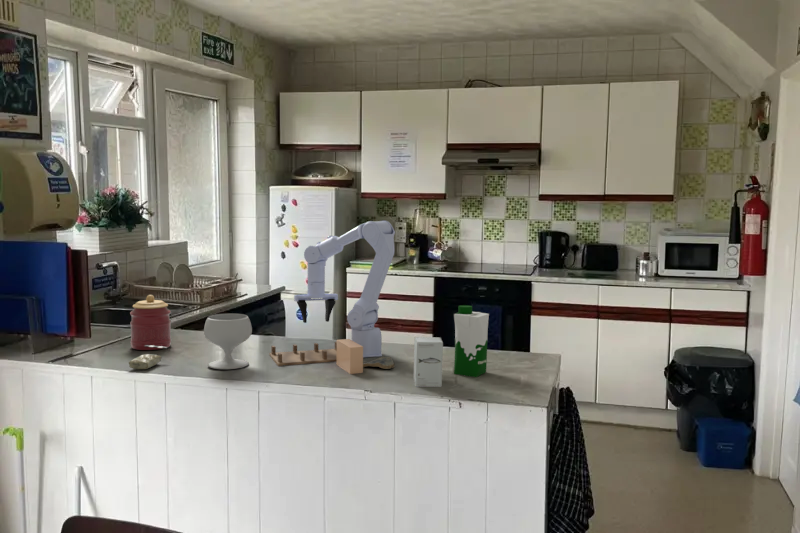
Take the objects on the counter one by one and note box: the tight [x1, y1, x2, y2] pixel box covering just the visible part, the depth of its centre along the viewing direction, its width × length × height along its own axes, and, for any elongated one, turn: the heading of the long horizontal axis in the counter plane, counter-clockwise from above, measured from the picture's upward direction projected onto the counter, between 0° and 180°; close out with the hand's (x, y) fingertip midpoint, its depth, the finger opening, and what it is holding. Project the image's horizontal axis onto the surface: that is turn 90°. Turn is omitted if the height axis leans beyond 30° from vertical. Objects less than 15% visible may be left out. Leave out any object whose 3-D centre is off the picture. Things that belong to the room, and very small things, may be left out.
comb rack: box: [268, 341, 337, 367], centre depth 220 cm, size 23×15×3 cm, turn 111°
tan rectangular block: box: [335, 338, 364, 375], centre depth 206 cm, size 4×12×8 cm, turn 24°
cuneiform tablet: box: [128, 345, 169, 370], centre depth 207 cm, size 7×4×12 cm
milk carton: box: [453, 304, 490, 378], centre depth 201 cm, size 9×9×20 cm
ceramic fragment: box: [363, 356, 395, 370], centre depth 210 cm, size 11×3×10 cm
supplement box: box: [413, 336, 444, 388], centre depth 190 cm, size 7×7×13 cm
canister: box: [129, 294, 172, 351], centre depth 232 cm, size 13×13×18 cm
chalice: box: [203, 312, 253, 370], centre depth 208 cm, size 14×14×15 cm
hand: (316, 321), depth 232 cm, fingers open, 7 cm apart
